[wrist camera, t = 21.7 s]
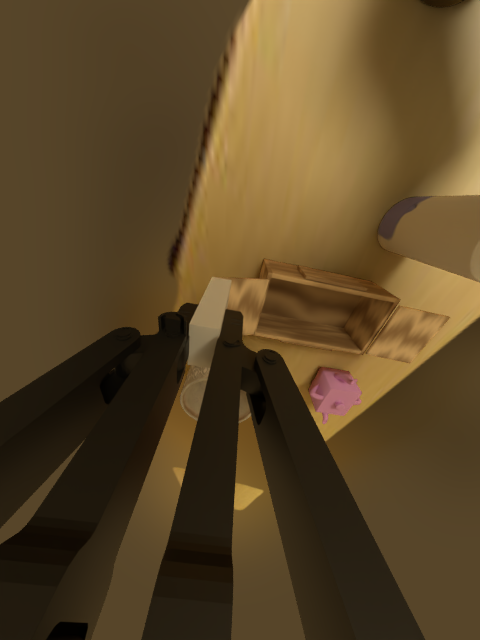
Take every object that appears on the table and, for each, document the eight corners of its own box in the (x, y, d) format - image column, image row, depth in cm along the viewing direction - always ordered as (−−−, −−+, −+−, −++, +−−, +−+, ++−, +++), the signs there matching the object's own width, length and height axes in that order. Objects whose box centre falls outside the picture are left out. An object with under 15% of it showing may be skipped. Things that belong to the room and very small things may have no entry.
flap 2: (400, 306, 37) (450, 317, 37) (398, 305, 37) (447, 316, 38) (366, 354, 43) (409, 363, 44) (365, 352, 44) (408, 361, 44)
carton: (264, 255, 43) (269, 268, 35) (373, 278, 46) (403, 296, 37) (249, 315, 51) (250, 337, 43) (342, 332, 54) (360, 357, 45)
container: (392, 261, 43) (488, 299, 26) (367, 228, 40) (458, 249, 23) (440, 223, 39) (590, 239, 22) (417, 183, 36) (571, 167, 19)
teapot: (353, 385, 64) (372, 416, 55) (313, 397, 68) (324, 428, 58) (341, 353, 57) (359, 382, 48) (297, 369, 61) (306, 399, 52)
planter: (194, 381, 65) (181, 423, 53) (192, 335, 55) (177, 373, 43) (249, 385, 66) (250, 428, 53) (257, 341, 56) (261, 381, 44)
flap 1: (267, 279, 35) (214, 277, 31) (269, 280, 35) (215, 278, 30) (252, 332, 41) (206, 337, 37) (253, 334, 41) (207, 339, 37)
